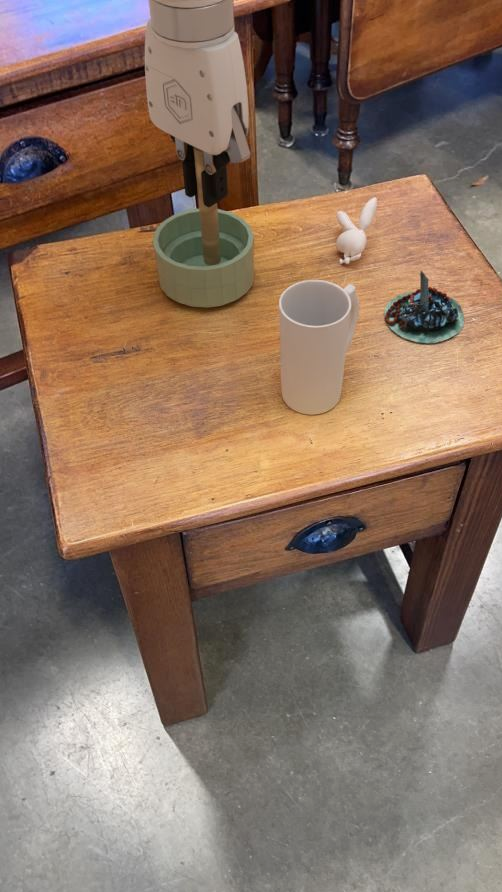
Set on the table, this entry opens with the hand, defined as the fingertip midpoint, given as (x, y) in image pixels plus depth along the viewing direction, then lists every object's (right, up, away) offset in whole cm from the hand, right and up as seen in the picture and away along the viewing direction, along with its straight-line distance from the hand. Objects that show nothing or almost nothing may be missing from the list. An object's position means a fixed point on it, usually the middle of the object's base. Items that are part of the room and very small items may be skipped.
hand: (206, 195), depth 89 cm
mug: (+12, -21, -2) cm, 24 cm away
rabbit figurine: (+17, -2, +12) cm, 21 cm away
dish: (+24, -12, +5) cm, 28 cm away
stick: (0, -5, +7) cm, 9 cm away
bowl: (-1, -7, +8) cm, 11 cm away
